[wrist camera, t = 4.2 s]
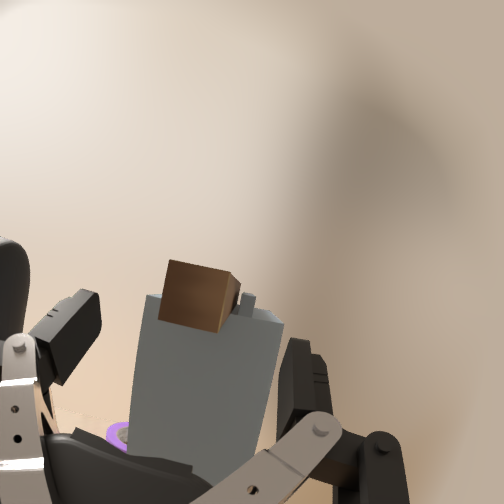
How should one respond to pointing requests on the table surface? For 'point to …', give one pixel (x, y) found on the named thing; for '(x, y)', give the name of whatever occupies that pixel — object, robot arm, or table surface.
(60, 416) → the table surface
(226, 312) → the brown wooden bar
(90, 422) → the table surface
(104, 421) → the table surface
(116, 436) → the masking tape
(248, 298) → the pale blue pedestal
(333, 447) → the robot arm
